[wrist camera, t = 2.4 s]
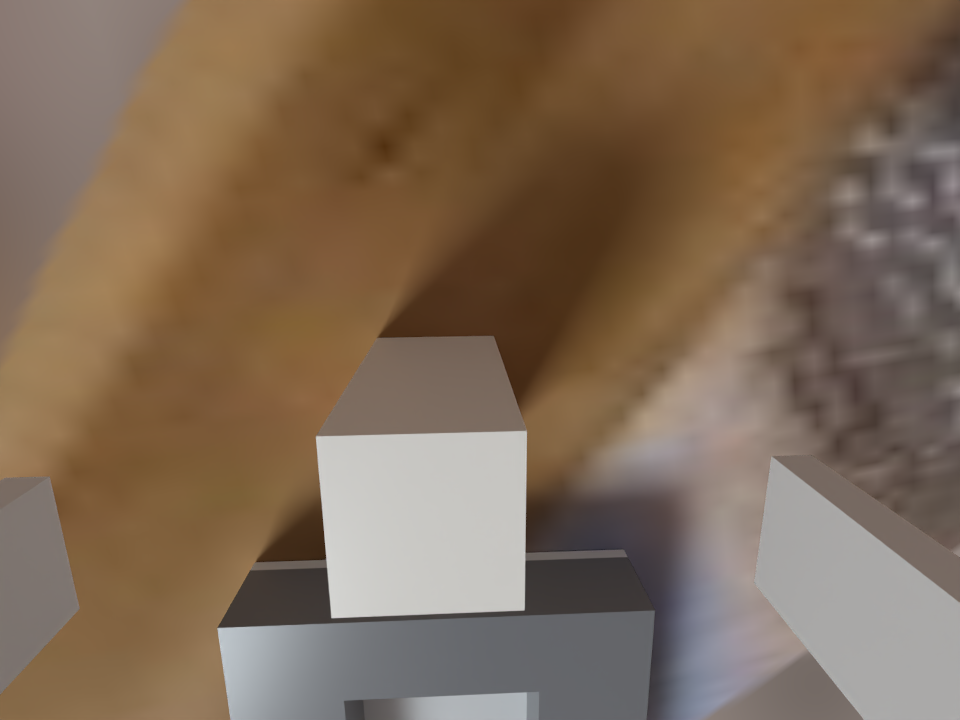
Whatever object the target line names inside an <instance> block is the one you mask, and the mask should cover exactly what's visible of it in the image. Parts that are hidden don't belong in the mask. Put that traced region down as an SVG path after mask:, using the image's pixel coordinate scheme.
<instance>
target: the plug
mask: <svg viewBox="0 0 960 720" xmlns="http://www.w3.org/2000/svg"><path fill="white" fill-rule="evenodd" d="M316 443H317V454H318V466H319V478H320V489H321V501H322V513H323V525H324V536H325V548H326V560H327V571H328V583H329V595H330V606H331V618H348V617H373V616H398V615H423V614H448V613H473V612H498V611H524V610H525V542H526V459H527V430H526V427H525V424H524V421H523V419H522V416H521V413H520V410H519V407H518V404H517V401H516V398H515V396H514V393H513V390H512V387H511V384H510V381H509V378H508V376H507V373H506V370H505V367H504V364H503V361H502V358H501V355H500V353H499V350H498V347H497V344H496V341H495V338H494V336H452V337H398V338H377V339H376V341H375V342H374V344H373V345H372V347H371V349H370V350H369V352H368V353H367V355H366V357H365V358H364V360H363V361H362V363H361V365H360V366H359V368H358V370H357V371H356V373H355V374H354V376H353V378H352V379H351V381H350V382H349V384H348V386H347V387H346V389H345V390H344V392H343V394H342V395H341V397H340V399H339V400H338V402H337V403H336V405H335V407H334V408H333V410H332V411H331V413H330V415H329V416H328V418H327V419H326V421H325V423H324V424H323V426H322V428H321V429H320V431H319V432H318V434H317V436H316Z"/></svg>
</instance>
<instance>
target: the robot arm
mask: <svg viewBox="0 0 960 720" xmlns="http://www.w3.org/2000/svg"><path fill="white" fill-rule="evenodd" d="M754 583H755V585H756V586H757V587H758V588H759V590H760V591H761V592H762V593H763V595H764V596H765V597H766V598H767V600H768V601H769V602H770V603H771V605H772V606H773V607H774V608H775V609H776V611H777V612H778V613H779V614H780V616H781V617H782V618H783V619H784V621H785V622H786V623H787V624H788V626H789V627H790V628H791V629H792V631H793V632H794V633H795V634H796V636H797V637H798V638H799V639H800V641H801V642H802V643H803V644H804V646H805V647H806V648H807V649H808V651H809V652H810V653H811V654H812V655H813V657H814V658H815V659H816V660H817V662H818V663H819V664H820V665H821V667H822V668H823V669H824V670H825V671H826V673H827V674H828V675H829V677H830V678H831V679H832V680H833V682H834V683H835V684H836V685H837V687H838V688H839V689H840V690H841V692H842V693H843V694H844V695H845V697H846V698H847V699H848V700H849V701H850V703H851V704H852V705H853V706H854V708H855V709H856V710H857V711H858V713H859V714H860V715H861V716H862V718H863V719H864V720H960V557H958V556H957V555H955V554H954V553H953V552H951V551H950V550H948V549H947V548H945V547H944V546H942V545H941V544H939V543H938V542H937V541H935V540H934V539H932V538H931V537H929V536H928V535H926V534H925V533H924V532H922V531H921V530H919V529H918V528H916V527H915V526H913V525H912V524H910V523H909V522H908V521H906V520H905V519H903V518H902V517H900V516H899V515H897V514H896V513H895V512H893V511H892V510H890V509H889V508H887V507H886V506H884V505H883V504H881V503H880V502H879V501H877V500H876V499H874V498H873V497H871V496H870V495H868V494H867V493H866V492H864V491H863V490H861V489H860V488H858V487H857V486H855V485H854V484H852V483H851V482H850V481H848V480H847V479H845V478H844V477H842V476H841V475H839V474H838V473H837V472H835V471H834V470H832V469H831V468H829V467H828V466H826V465H825V464H823V463H822V462H821V461H819V460H818V459H816V458H815V457H813V456H812V455H797V456H772V457H771V464H770V471H769V479H768V486H767V493H766V501H765V508H764V515H763V523H762V530H761V537H760V545H759V552H758V559H757V567H756V574H755V581H754ZM78 610H79V605H78V600H77V596H76V591H75V587H74V582H73V578H72V574H71V569H70V565H69V560H68V556H67V551H66V547H65V543H64V538H63V534H62V529H61V525H60V520H59V516H58V512H57V507H56V503H55V498H54V494H53V489H52V485H51V481H50V477H20V478H4V479H2V480H1V481H0V694H1V693H2V692H3V691H4V690H5V689H6V687H7V686H8V685H9V684H10V683H11V682H12V681H13V680H14V679H15V678H16V677H17V676H18V675H19V673H20V672H21V671H22V670H23V669H24V668H25V667H26V666H27V665H28V664H29V663H30V662H31V661H32V659H33V658H34V657H35V656H36V655H37V654H38V653H39V652H40V651H41V650H42V649H43V648H44V647H45V645H46V644H47V643H48V642H49V641H50V640H51V639H52V638H53V637H54V636H55V635H56V634H57V633H58V631H59V630H60V629H61V628H62V627H63V626H64V625H65V624H66V623H67V622H68V621H69V620H70V619H71V617H72V616H73V615H74V614H75V613H76V612H77V611H78Z"/></svg>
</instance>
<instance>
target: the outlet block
mask: <svg viewBox="0 0 960 720" xmlns="http://www.w3.org/2000/svg"><path fill="white" fill-rule="evenodd" d="M654 618H655V609H654V607H653V605H652V603H651V602H650V600H649V598H648V596H647V594H646V592H645V590H644V588H643V586H642V584H641V582H640V580H639V578H638V576H637V574H636V572H635V570H634V569H633V567H632V565H631V563H630V561H629V559H628V557H627V555H626V553H625V551H624V549H621V550H593V551H565V552H536V553H525V610H524V611H498V612H473V613H448V614H423V615H398V616H373V617H348V618H331V606H330V595H329V583H328V571H327V560H309V561H281V562H255V563H254V565H253V567H252V568H251V570H250V572H249V574H248V575H247V577H246V579H245V581H244V582H243V584H242V586H241V588H240V589H239V591H238V593H237V595H236V596H235V598H234V600H233V602H232V603H231V605H230V607H229V609H228V610H227V612H226V614H225V616H224V617H223V619H222V621H221V623H220V624H219V626H218V635H219V642H220V649H221V656H222V663H223V670H224V677H225V684H226V691H227V698H228V705H229V712H230V719H231V720H647V708H648V695H649V683H650V670H651V657H652V644H653V631H654Z"/></svg>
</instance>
